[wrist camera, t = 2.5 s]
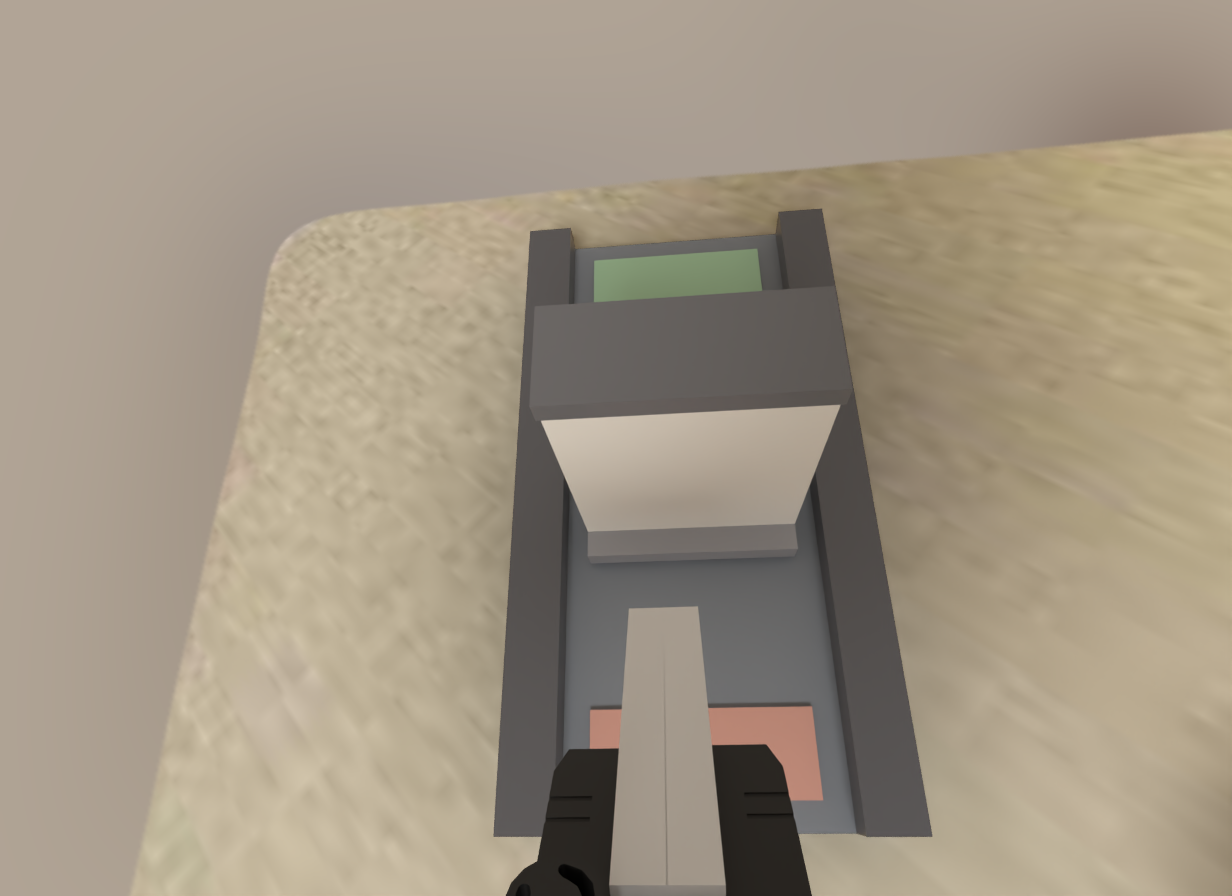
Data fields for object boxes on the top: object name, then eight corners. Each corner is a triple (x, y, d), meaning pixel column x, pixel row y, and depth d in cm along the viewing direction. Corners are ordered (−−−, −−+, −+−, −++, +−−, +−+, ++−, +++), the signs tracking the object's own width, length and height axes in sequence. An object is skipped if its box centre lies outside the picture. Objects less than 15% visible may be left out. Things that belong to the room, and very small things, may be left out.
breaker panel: (902, 829, 25) (932, 836, 22) (517, 830, 26) (493, 836, 23) (810, 258, 36) (821, 208, 33) (544, 277, 37) (530, 231, 34)
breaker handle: (797, 556, 27) (858, 420, 17) (588, 563, 28) (527, 437, 18) (783, 441, 29) (830, 259, 19) (589, 450, 30) (535, 280, 20)
